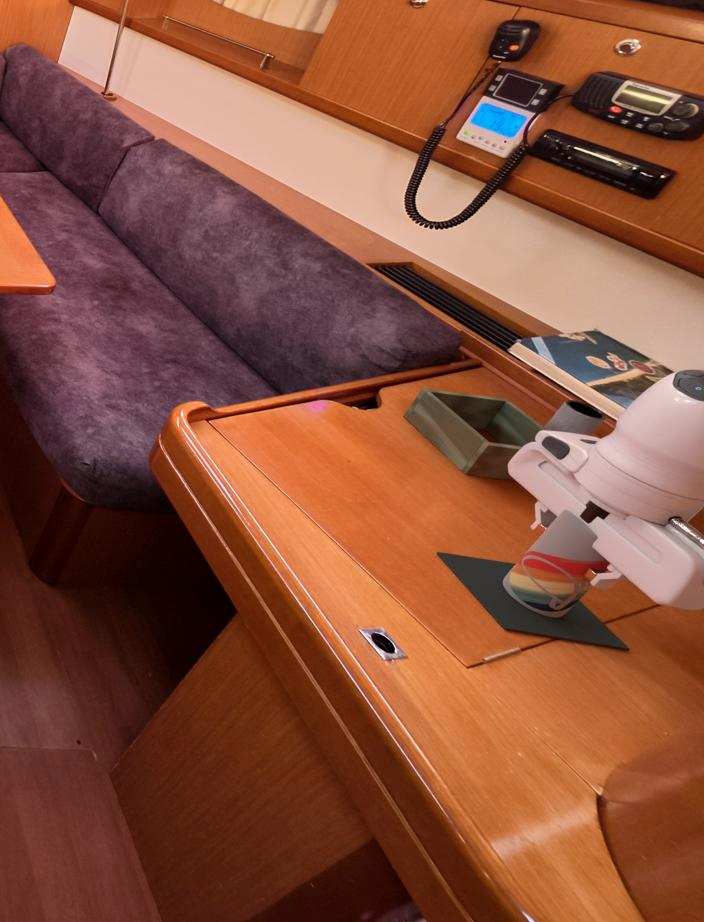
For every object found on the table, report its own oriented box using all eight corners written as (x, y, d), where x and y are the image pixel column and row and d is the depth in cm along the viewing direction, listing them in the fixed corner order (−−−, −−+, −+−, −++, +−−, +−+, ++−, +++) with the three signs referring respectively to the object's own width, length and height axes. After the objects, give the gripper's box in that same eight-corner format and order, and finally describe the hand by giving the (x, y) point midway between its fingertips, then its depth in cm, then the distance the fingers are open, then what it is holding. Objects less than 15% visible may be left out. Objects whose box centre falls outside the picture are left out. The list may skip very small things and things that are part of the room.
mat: (545, 570, 90) (547, 568, 90) (628, 650, 80) (630, 649, 80) (436, 553, 92) (437, 551, 92) (504, 630, 82) (506, 628, 82)
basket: (485, 426, 115) (506, 398, 112) (558, 487, 103) (584, 457, 100) (402, 416, 117) (422, 388, 114) (465, 474, 105) (488, 445, 102)
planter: (530, 438, 113) (565, 395, 108) (568, 453, 110) (606, 410, 105) (529, 450, 110) (565, 407, 106) (569, 466, 107) (607, 423, 103)
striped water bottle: (524, 613, 84) (617, 513, 75) (489, 573, 89) (573, 475, 80) (576, 623, 82) (677, 523, 74) (538, 583, 87) (629, 484, 79)
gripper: (778, 570, 66) (687, 645, 72) (581, 428, 84) (522, 497, 90) (708, 560, 67) (624, 634, 73) (527, 421, 85) (472, 490, 91)
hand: (566, 557), depth 82 cm, fingers closed on striped water bottle, 5 cm apart
